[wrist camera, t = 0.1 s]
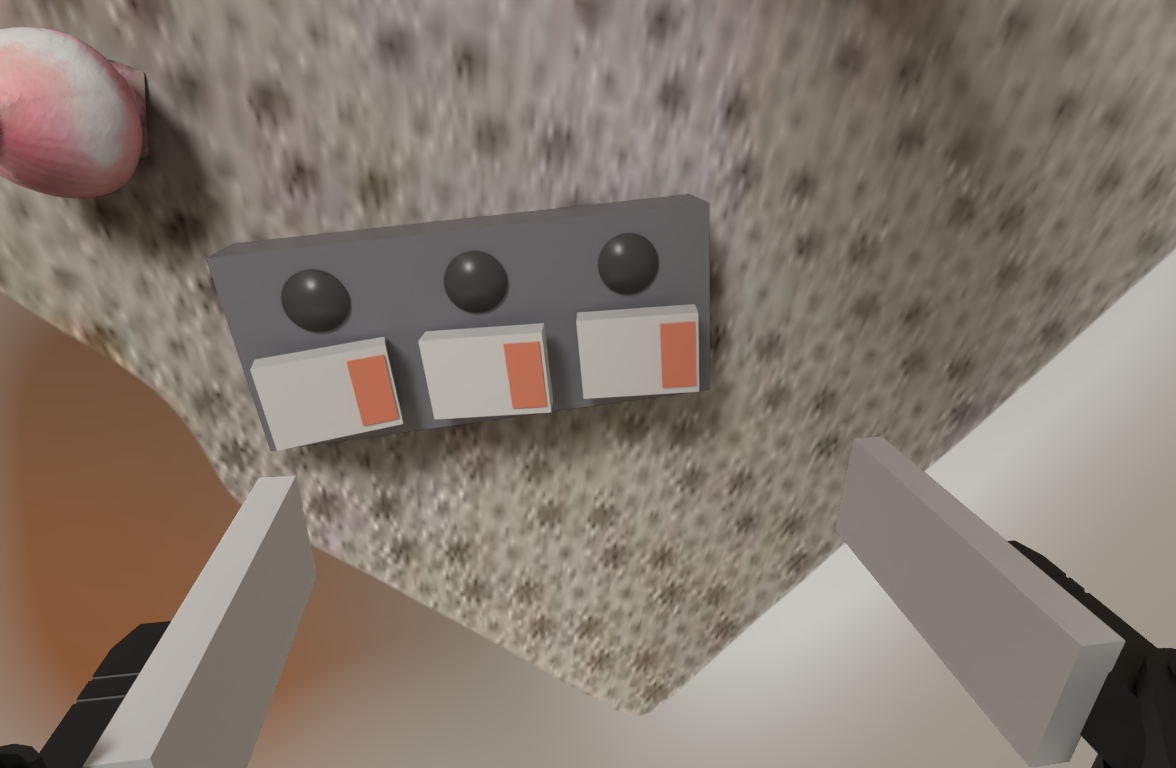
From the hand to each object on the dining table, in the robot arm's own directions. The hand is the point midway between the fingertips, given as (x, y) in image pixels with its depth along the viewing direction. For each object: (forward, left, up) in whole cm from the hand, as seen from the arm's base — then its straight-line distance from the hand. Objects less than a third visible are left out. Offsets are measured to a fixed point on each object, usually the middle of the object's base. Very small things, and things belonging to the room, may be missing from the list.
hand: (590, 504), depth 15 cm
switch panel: (+3, -3, -28) cm, 28 cm away
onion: (-10, -22, -28) cm, 37 cm away
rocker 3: (+5, +6, -22) cm, 24 cm away
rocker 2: (+5, -3, -22) cm, 23 cm away
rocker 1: (+5, -12, -22) cm, 26 cm away
